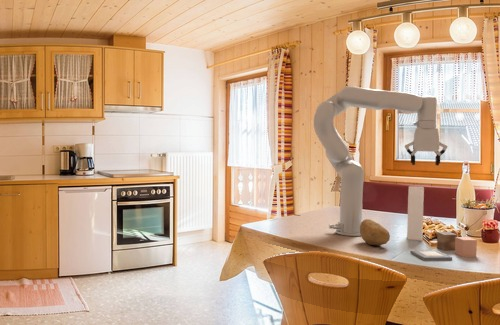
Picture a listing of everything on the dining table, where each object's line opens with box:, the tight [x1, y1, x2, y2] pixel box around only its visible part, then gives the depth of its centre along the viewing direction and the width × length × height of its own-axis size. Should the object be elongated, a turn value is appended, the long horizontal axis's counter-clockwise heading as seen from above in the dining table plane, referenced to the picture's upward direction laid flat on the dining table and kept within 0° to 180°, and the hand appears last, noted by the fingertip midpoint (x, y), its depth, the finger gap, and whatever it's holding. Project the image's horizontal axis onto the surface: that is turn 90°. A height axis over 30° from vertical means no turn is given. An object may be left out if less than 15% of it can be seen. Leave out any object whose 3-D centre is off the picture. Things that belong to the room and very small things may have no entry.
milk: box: [406, 185, 425, 242], centre depth 183 cm, size 6×6×22 cm
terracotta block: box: [454, 236, 478, 258], centre depth 157 cm, size 5×5×6 cm
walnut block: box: [436, 231, 458, 252], centre depth 166 cm, size 5×5×6 cm
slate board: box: [410, 249, 453, 261], centre depth 154 cm, size 10×10×1 cm
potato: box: [360, 218, 391, 246], centre depth 170 cm, size 9×16×9 cm, turn 10°
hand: (425, 165), depth 189 cm, fingers open, 9 cm apart
